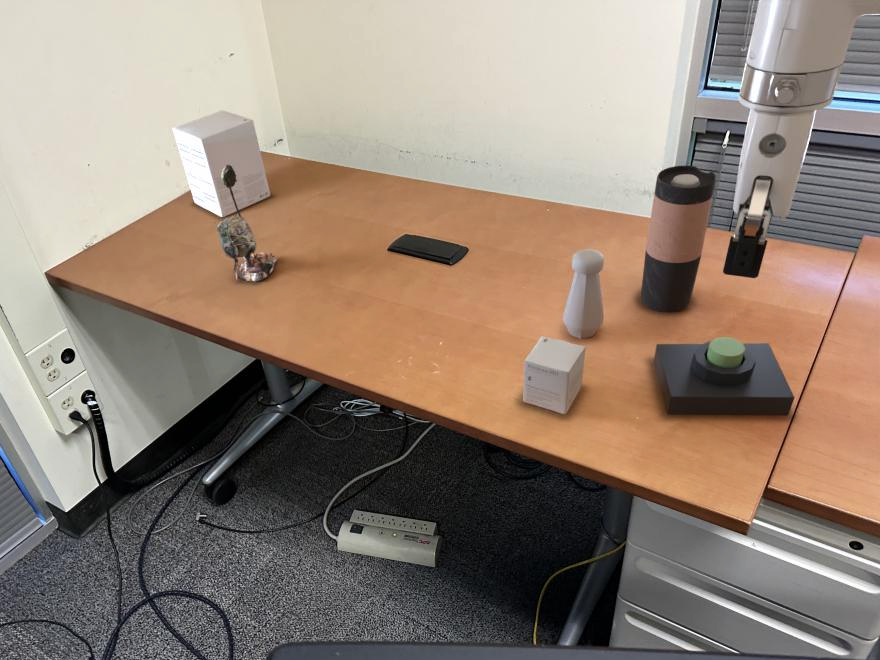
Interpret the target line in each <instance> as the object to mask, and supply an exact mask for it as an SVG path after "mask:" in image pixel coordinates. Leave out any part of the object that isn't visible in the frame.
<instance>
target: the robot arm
mask: <svg viewBox="0 0 880 660" xmlns="http://www.w3.org/2000/svg"><path fill="white" fill-rule="evenodd" d="M863 16H880V0H758V3H757V7H756V12H755V18H754V23H753V27H752V30H751V31H752V32H751V37H750V41H749V46H748V51H747V55H746V60H745V65H744V68H743V69H744V70H743V75H742V79H741V84H740V89H739V95H738V98H737V99H738V100H737V101H738V102H739V104H740V105H742V106H743V107H746V108H748V109H750V110H749V114H748V119H747V123H746V128H745V133H744V138H743V141H742V142H743V143H742V147H741V152H740V158H739V164H738V171H737V175H736V182H735V191H734V198H733V206H732V211H733V212H734V213H735V214H736V215H737V219H736V223H735V229H734V233H733V236H730V240H729V243H728V246H727V252H726V256H725V261H724V264H723V269H722V273H723V274H724V275H726V276H727V275H728V276H734V277H742V278H748V279H749V278H750V279H756V278H758V277H759V274H760V271H761V268H762V264H763V261H764V260H763V259H764V256H765V252H766V249H767V244H768V239H766V238H767V234H768V232H769V228H770V225H771V221H772V217H775V218H779V219H780V220H783V219H785V218H787V217H788V216H789V215H790V210H791V208H792V204H793V200H794V197H795V193H796V189H797V186H798V182H799V178H800V175H801V171H802V167H803V165H804V161H805V157H806V154H807V150H808V148H809V147H808V146H809V142H810V139H811V134H812V130H813V127H814V122H815V116H816V112H817V111H819V110H821V109H824V108H826V107H828V106H830V105H831V104H832V103H833V99H834V97H835V92H836V89H837V86H838V83H839V79H840V75H841V72H842V69H843V66H844V61H845V59H846V56H847V52H848V49H849V45H850V41H851V38H852V35H853V31H854V29H855V25H856V22H857V19H859V18H860V17H863Z"/></svg>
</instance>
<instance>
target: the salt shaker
mask: <svg viewBox="0 0 880 660" xmlns="http://www.w3.org/2000/svg"><path fill="white" fill-rule="evenodd" d="M604 264H605V257H604V255H603V254H602V253H601V252H600V251H599V250H597V249H592V248H585V249H581V250H578V251H576V252H575V253H574V254H572V259H571V268H572V271H574V274H573V278H572V281H571V285H570V289H569V292H568V296H567V300H566V304H565V307H564V311H563V315H562V322H563V324H564V325H565V327H566V329H567V331H568V334H569V335H570V336H572V337H575V338H577V339H580V340H581V339H587V338H591V337H594V336H595V334H596V333H597V331H598V330H599V328H600V327H601V326H602V325H603V323H604V319H605V314H604V306H603V304H604V303H603V297H602V287H601V279H600V273H601V271H602V270H603V268H604V266H605V265H604Z"/></svg>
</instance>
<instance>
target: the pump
mask: <svg viewBox="0 0 880 660" xmlns="http://www.w3.org/2000/svg"><path fill="white" fill-rule="evenodd" d="M710 341H711V342H710V345H709V349H708V353H707V360H708V362H710V363H711V364H713V365H715V366H719V367H722V368H735V367H738V366H739V365H740V364H741V362H742V358H743V355H744V351H745V347H744V345H743V344H742V342H741V341H739V340H738V339H735V338H732V337H728V336H727V337H726V336H721V337H716V338H713V339H711V340H710Z"/></svg>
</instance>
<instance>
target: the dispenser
mask: <svg viewBox="0 0 880 660" xmlns="http://www.w3.org/2000/svg"><path fill="white" fill-rule="evenodd" d="M711 341H712V340H709V341H706V342H704V343H657V344H656V345H655V350H654V351H655V352H654V357H653V364H654V367H655V373H656V376H657V380H658V383H659V387H660V392H661V395H662V398H663V399H662V400H663V403H664V406H665V410H666V415H707V416H709V415H710V416H711V415H713V416H785V417H786V416H787V417H788V416H789V414H790V412H791V409H792V406H793V403H794V400H795V399H796V398H795V395H794V393H793V391H792V389H791V387H790V385H789V383H788V380H787V379H786V376H785V375H784V372H783V370H782V369H781V366H780V363H779V362H778V360H777V358H776V356H775V353H774V351H773V349H772V347H771V345H770V343H769V342H761V343H760V342H758V343H757V342H755V343H751V342H749V343H748V342H747V343H745V342H743V343H742V342H741V343H742V344H743V345H744V347H745V351H744V355H743V358H742V362H741V364H740V365H739V366H738V367H735V368H722V367H719V366H715V365H713V364H711V363H710V362H708V360H707V353H708V349H709V345H710V342H711Z"/></svg>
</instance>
